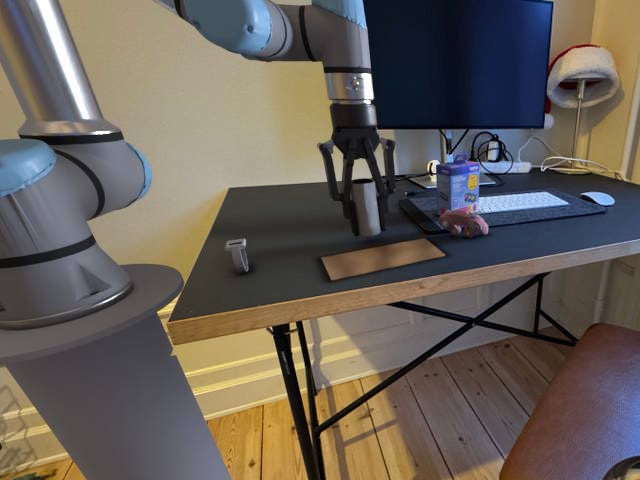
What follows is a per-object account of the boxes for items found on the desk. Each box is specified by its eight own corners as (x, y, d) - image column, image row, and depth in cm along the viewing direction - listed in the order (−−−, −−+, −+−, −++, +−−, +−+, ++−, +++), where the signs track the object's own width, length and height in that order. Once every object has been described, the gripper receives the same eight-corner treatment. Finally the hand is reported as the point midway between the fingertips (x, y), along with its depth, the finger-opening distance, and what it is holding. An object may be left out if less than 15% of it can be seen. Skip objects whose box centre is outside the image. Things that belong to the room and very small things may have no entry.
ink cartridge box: (451, 220, 86) (449, 156, 79) (436, 215, 89) (433, 153, 83) (480, 211, 92) (480, 152, 86) (464, 207, 96) (464, 149, 89)
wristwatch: (235, 265, 63) (226, 238, 61) (253, 262, 64) (245, 235, 62) (232, 279, 58) (223, 250, 56) (252, 276, 60) (244, 247, 57)
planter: (353, 236, 71) (345, 183, 67) (363, 228, 75) (356, 177, 71) (375, 237, 70) (368, 184, 66) (384, 229, 74) (378, 178, 70)
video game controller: (441, 240, 79) (433, 216, 73) (448, 225, 81) (441, 201, 76) (484, 246, 76) (479, 221, 70) (491, 230, 78) (486, 205, 73)
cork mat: (331, 281, 58) (331, 279, 58) (321, 258, 66) (321, 257, 66) (445, 256, 67) (445, 255, 67) (424, 238, 75) (424, 238, 75)
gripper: (298, 103, 55) (325, 246, 66) (408, 102, 64) (417, 229, 74) (292, 102, 61) (318, 233, 71) (394, 101, 69) (404, 219, 80)
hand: (369, 231), depth 73 cm, fingers closed on planter, 5 cm apart
